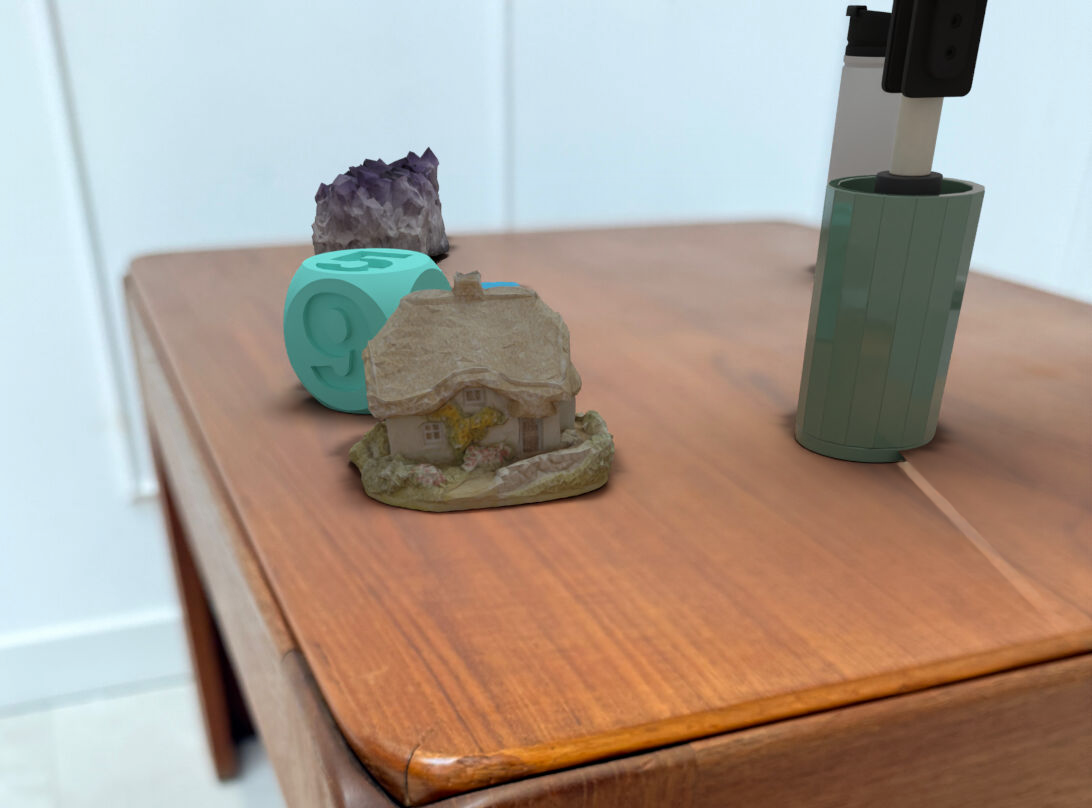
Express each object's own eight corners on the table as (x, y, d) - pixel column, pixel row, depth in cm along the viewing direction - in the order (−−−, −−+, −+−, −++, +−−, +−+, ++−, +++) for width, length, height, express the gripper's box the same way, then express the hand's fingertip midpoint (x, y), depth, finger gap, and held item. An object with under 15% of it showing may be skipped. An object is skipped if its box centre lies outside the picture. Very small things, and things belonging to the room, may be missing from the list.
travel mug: (800, 273, 98) (833, 4, 87) (868, 269, 99) (910, 3, 88) (827, 288, 93) (867, 5, 82) (899, 284, 94) (948, 4, 83)
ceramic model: (339, 516, 54) (314, 302, 48) (353, 440, 63) (334, 252, 57) (622, 506, 54) (631, 294, 49) (596, 432, 64) (601, 246, 58)
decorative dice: (461, 384, 72) (455, 252, 67) (405, 421, 66) (394, 279, 61) (355, 372, 74) (342, 244, 70) (291, 406, 68) (272, 269, 63)
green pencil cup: (904, 416, 66) (950, 173, 58) (953, 460, 59) (1011, 195, 52) (779, 420, 65) (809, 176, 58) (815, 465, 59) (854, 198, 51)
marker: (907, 292, 59) (966, -49, 51) (929, 306, 57) (995, -51, 48) (850, 294, 59) (899, -48, 51) (869, 308, 57) (924, -50, 48)
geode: (354, 239, 114) (359, 130, 108) (463, 258, 113) (472, 149, 108) (291, 272, 97) (292, 145, 91) (417, 294, 96) (426, 168, 91)
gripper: (1231, -543, 36) (1078, 107, 46) (1020, -402, 49) (938, 81, 59) (1007, -544, 35) (904, 112, 46) (854, -401, 48) (802, 84, 59)
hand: (924, 90), depth 53 cm, fingers closed on marker, 2 cm apart
